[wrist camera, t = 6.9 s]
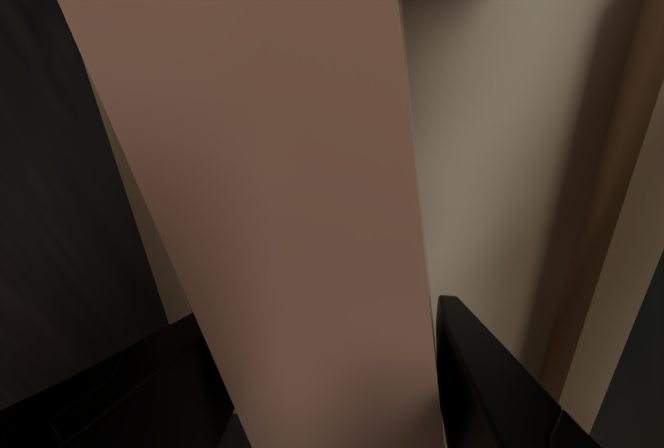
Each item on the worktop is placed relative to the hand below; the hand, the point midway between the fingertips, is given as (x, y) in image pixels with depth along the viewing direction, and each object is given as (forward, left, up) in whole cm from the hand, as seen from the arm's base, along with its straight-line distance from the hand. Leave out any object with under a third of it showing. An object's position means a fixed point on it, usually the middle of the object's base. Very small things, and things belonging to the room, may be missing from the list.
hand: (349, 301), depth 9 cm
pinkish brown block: (0, 0, -1) cm, 1 cm away
